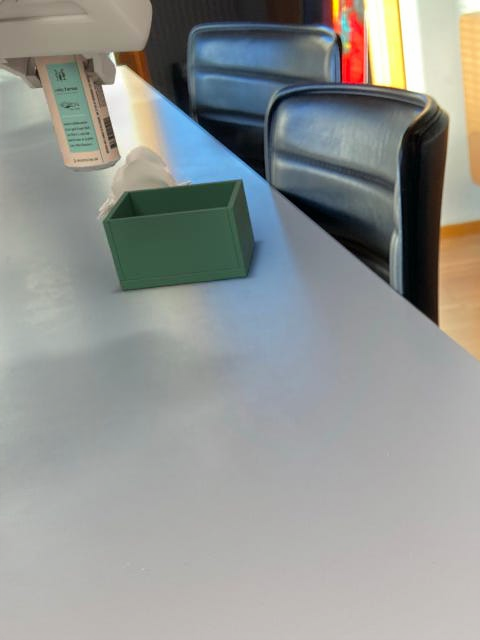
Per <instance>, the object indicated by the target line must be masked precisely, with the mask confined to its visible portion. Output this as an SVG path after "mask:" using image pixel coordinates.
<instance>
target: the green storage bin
mask: <svg viewBox="0 0 480 640" xmlns="http://www.w3.org/2000/svg"><path fill="white" fill-rule="evenodd" d="M102 227H103V229H104V233H105V236H106V238H107V244H108V246H109V250H110V255H111V257H112V261H113V265H114V267H115V271H116V275H117V278H118V281H119V285H120V289H121V291H128V290H129V291H131V290H139V289H140V290H141V289H148V288H149V289H150V288H157V287H166V286H176V285H185V284H194V283H201V282H202V283H203V282H212V281H219V280H220V281H221V280H229V279H239V278H246V277H247V276H248V272H249V269H250V265H251V261H252V257H253V253H254V252H253V251H254V249H255V244H256V241H255V236H254V230H253V225H252V220H251V216H250V210H249V206H248V201H247V196H246V190H245V185H244V180H243V179H242V178H239V179H229V180H221V181H219V180H218V181H211V182H202V183H201V182H200V183H193V184H192V183H190V184H188V185H181V186H172V187H163V188H153V189H144V190H134V191H125V192H124V193H123V194H122V196H121V197H120V198H119V200H118V201H117V202H116V204H115V205H114V207H113V208H112V209H111V211H110V212H109V213H108V212H107V215H105V216H104V219H103V220H102Z"/></svg>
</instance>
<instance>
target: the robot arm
mask: <svg viewBox="0 0 480 640" xmlns="http://www.w3.org/2000/svg"><path fill="white" fill-rule="evenodd" d="M152 21H153V5H152V3H151V0H0V68H1V69H2V70H5V71H6V72H8V73H11V74H12V75H14V76H16V77H19V78H21V80H22V81H23V82H24V83H25V84H26V85H27V86H28V87H29V88H30V89H39V88H40V89H43V87H42V84H41V80H40V77H39V73H38V70H37V66H36V63H35V59H34V57H38V56H56V55H74V54H82V55H83V56H84V57H85V58H86V59H88V62H89V63H88V65H87V68H86V74H87V75H88V76H89V78H90V79H92V80H94V81H93V82H94V84H95V85H102V86H113V85H114V84H115V81H116V75H117V68H116V64H115V63H114V62H113V60H112V59H111V58H110V57H109V55H108V54H107V53H125V52H140V51H143V50H144V49H145V48H146V45H147V43H148V40H149V37H150V33H151V27H152Z"/></svg>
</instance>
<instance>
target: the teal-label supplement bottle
mask: <svg viewBox="0 0 480 640" xmlns="http://www.w3.org/2000/svg"><path fill="white" fill-rule="evenodd" d="M34 59H35V63H36V66H37V70H38V73H39V77H40V80H41V84H42V87H43V88H42V90H43V94H44V97H45V101H46V104H47V108H48V111H49V114H50V118H51V121H52V125H53V129H54V131H55V135H56V139H57V142H58V145H59V149H60V153H61V156H62V159H63V166H64V167H65V168H67V169H70V170H72V171H73V172H78V173H88V172H89V173H90V172H96V171H97V172H98V171H102V170H106V169H111V168H113V167H115V166H116V164H117V163H118V162H119V161H120V160H121V158H122V156H121V154H120V151H119V147H118V143H117V139H116V136H115V131H114V127H113V123H112V120H111V116H110V111H109V108H108V104H107V101H106V97H105V92H104V89H103V85H95V84H94V82H93V81H94V80H92V79H90V78H89V76H88V75H87V74H86V68H87V65H88V63H89V62H88V59H86V58H85V57H84V56H83V55H82V54H74V55H56V56H38V57H34Z"/></svg>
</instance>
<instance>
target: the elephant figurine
mask: <svg viewBox="0 0 480 640" xmlns="http://www.w3.org/2000/svg"><path fill="white" fill-rule="evenodd" d="M124 161H125V162H124V165H121V166H120V167H119V168H118V169H117V170H116V171H115V174H114V177H113V180H112V185H111V191H110V195H108V197H107V199H106V200H105V201H104V203H103V204H102V205H101V206H100V207H99V209H98V213H99V212H100V213H99V214H98V216H97V218H96V221H97V220H99V219H101V218H103V217H105V216H106V214H108V213H109V212H110V211H111V209H112V208H113V207H114V205H115V204H116V202H117V201H118V200H119V198H120V197H121V196H122V194H123V193H124V192H125V191H134V190H144V189H153V188H163V187H172V186H181V185H191V184H192V181H191V180H188V181H183V182H180V183H178V181H177V180H176V179H175V178H174V177H173V176H172V175H171V174H170V169H169V167H168V166H167V165H166V163H165V162H164V160H163V159H162V157H161V156H160V155H159V154H158V153H157V152H156V151H154V150H153V149H151V148H150V147H147V146H145V145H139V146H136V147H135V148H133V149H131V150H130V151H129V152H128V153H127V155H126V157H125V160H124Z"/></svg>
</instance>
